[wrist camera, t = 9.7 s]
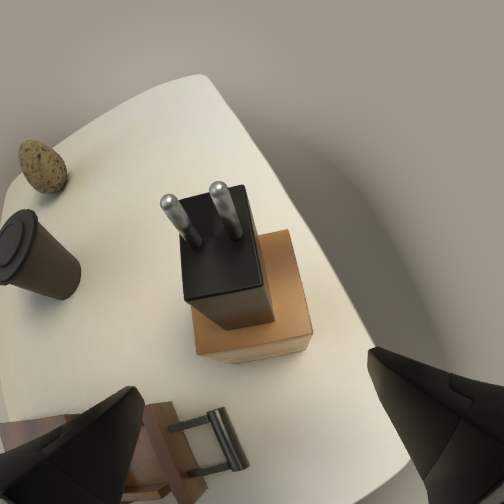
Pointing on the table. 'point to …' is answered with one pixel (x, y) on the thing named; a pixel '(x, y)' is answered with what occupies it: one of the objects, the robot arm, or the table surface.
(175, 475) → the drawer
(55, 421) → the cabinet
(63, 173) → the decorative egg
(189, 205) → the black wall charger
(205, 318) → the pedestal
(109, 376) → the table surface
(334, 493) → the table surface
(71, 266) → the coffee cup
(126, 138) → the table surface
